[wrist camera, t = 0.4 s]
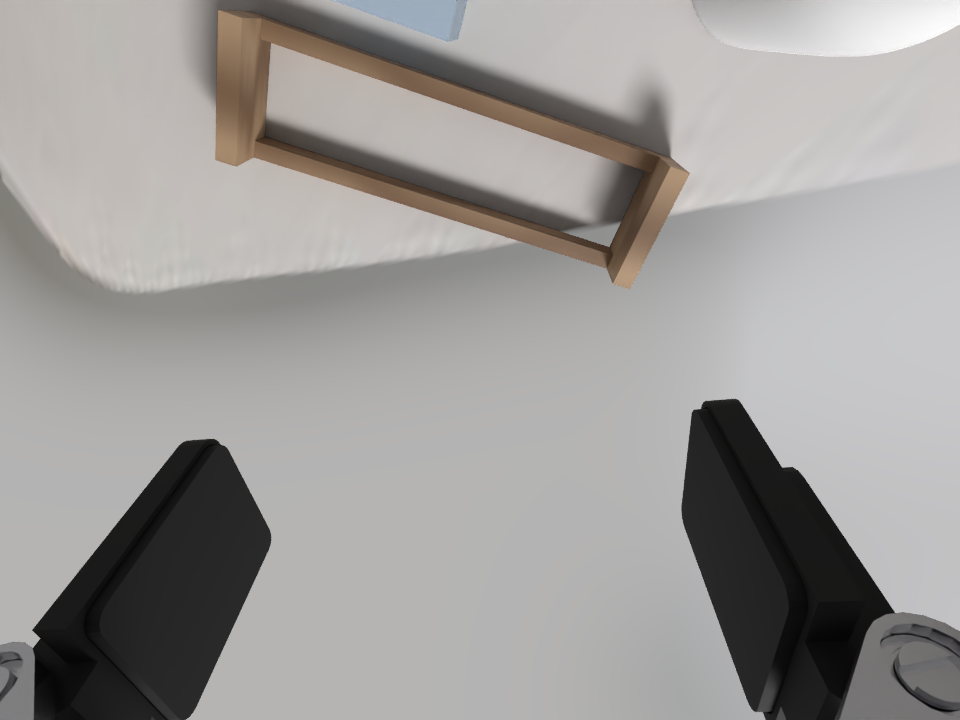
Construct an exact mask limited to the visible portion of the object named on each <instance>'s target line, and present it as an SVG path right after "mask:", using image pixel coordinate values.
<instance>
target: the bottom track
mask: <svg viewBox="0 0 960 720" xmlns="http://www.w3.org/2000/svg"><path fill="white" fill-rule="evenodd" d="M271 43H273V44H276V45H279V46H282V47H285V48H288V49H291V50H294V51H297V52H300V53H302V54H305V55H308V56H311V57H314V58H317V59H320V60H323V61H326V62H329V63H332V64H335V65H337V66H340V67H343V68H346V69H349V70H352V71H355V72H358V73H361V74H364V75H367V76H369V77H372V78H375V79H378V80H381V81H384V82H387V83H390V84H393V85H396V86H399V87H402V88H404V89H407V90H410V91H413V92H416V93H419V94H422V95H425V96H428V97H431V98H434V99H436V100H439V101H442V102H445V103H448V104H451V105H454V106H457V107H460V108H463V109H466V110H469V111H471V112H474V113H477V114H480V115H483V116H486V117H489V118H492V119H495V120H498V121H501V122H503V123H506V124H509V125H512V126H515V127H518V128H521V129H524V130H527V131H530V132H533V133H536V134H538V135H541V136H544V137H547V138H550V139H553V140H556V141H559V142H562V143H565V144H568V145H570V146H573V147H576V148H579V149H582V150H585V151H588V152H591V153H594V154H597V155H600V156H603V157H605V158H608V159H611V160H614V161H617V162H620V163H623V164H626V165H629V166H632V167H635V168H638V169H640V170H643V171H645V172H644V175H643V177H642V179H641V181H640V183H639V185H638V187H637V189H636V192H635V194H634V196H633V198H632V200H631V202H630V204H629V207H628V209H627V211H626V213H625V215H624V217H623V219H622V222H621V224H620V226H619V228H618V230H617V232H616V234H615V237H614V239H613V241H612V243H611V245H610V247H607V246H604V245H600V244H597V243H594V242H591V241H588V240H585V239H582V238H579V237H576V236H573V235H569V234H566V233H563V232H560V231H557V230H554V229H551V228H548V227H544V226H541V225H538V224H535V223H532V222H529V221H526V220H523V219H519V218H516V217H513V216H510V215H507V214H504V213H501V212H498V211H495V210H491V209H488V208H485V207H482V206H479V205H476V204H473V203H470V202H466V201H463V200H460V199H457V198H454V197H451V196H448V195H445V194H442V193H438V192H435V191H432V190H429V189H426V188H423V187H420V186H417V185H413V184H410V183H407V182H404V181H401V180H398V179H395V178H392V177H388V176H385V175H382V174H379V173H376V172H373V171H370V170H367V169H364V168H360V167H357V166H354V165H351V164H348V163H345V162H342V161H339V160H335V159H332V158H329V157H326V156H323V155H320V154H317V153H314V152H311V151H307V150H304V149H301V148H298V147H295V146H292V145H289V144H286V143H282V142H279V141H276V140H273V139H270V138H267V137H264V136H265V121H266V106H267V91H268V76H269V61H270V46H271ZM252 158H258V159H261V160H264V161H267V162H270V163H273V164H277V165H280V166H283V167H286V168H289V169H292V170H296V171H299V172H302V173H305V174H308V175H311V176H315V177H318V178H321V179H324V180H327V181H331V182H334V183H337V184H340V185H343V186H346V187H350V188H353V189H356V190H359V191H362V192H365V193H369V194H372V195H375V196H378V197H381V198H385V199H388V200H391V201H394V202H397V203H400V204H404V205H407V206H410V207H413V208H416V209H419V210H423V211H426V212H429V213H432V214H435V215H438V216H442V217H445V218H448V219H451V220H454V221H458V222H461V223H464V224H467V225H470V226H473V227H477V228H480V229H483V230H486V231H489V232H492V233H496V234H499V235H502V236H505V237H508V238H511V239H515V240H518V241H521V242H524V243H527V244H531V245H534V246H537V247H540V248H543V249H547V250H550V251H553V252H556V253H559V254H562V255H565V256H569V257H572V258H575V259H578V260H581V261H585V262H588V263H591V264H594V265H598V266H601V267H604V268H607V270H608V273H609V275H610V278H611V280H612V283H613V284H615V285H618V286H621V287H625V288H628V289H630V288H631V286H632V284H633V282H634V281H635V279H636V277H637V275H638V273H639V271H640V269H641V267H642V265H643V263H644V261H645V259H646V257H647V255H648V253H649V251H650V249H651V248H652V246H653V244H654V242H655V240H656V238H657V236H658V234H659V232H660V230H661V228H662V226H663V224H664V222H665V220H666V219H667V217H668V215H669V213H670V211H671V209H672V207H673V205H674V203H675V201H676V199H677V197H678V195H679V193H680V191H681V189H682V188H683V186H684V184H685V182H686V180H687V178H688V176H689V174H690V173H689V172H688V171H686V170H685V169H684V168H683V167H681V166H680V165H679V164H678V163H677V162H675V161H674V160H673V159H672V158H669V157H667V156H664V155H661V154H658V153H655V152H652V151H649V150H646V149H644V148H641V147H638V146H635V145H632V144H629V143H626V142H624V141H621V140H618V139H615V138H612V137H609V136H606V135H603V134H601V133H598V132H595V131H592V130H589V129H586V128H583V127H581V126H578V125H575V124H572V123H569V122H566V121H563V120H560V119H558V118H555V117H552V116H549V115H546V114H543V113H540V112H538V111H535V110H532V109H529V108H526V107H523V106H520V105H517V104H515V103H512V102H509V101H506V100H503V99H500V98H497V97H495V96H492V95H489V94H486V93H483V92H480V91H477V90H474V89H472V88H469V87H466V86H463V85H460V84H457V83H454V82H452V81H449V80H446V79H443V78H440V77H437V76H434V75H431V74H429V73H426V72H423V71H420V70H417V69H414V68H411V67H409V66H406V65H403V64H400V63H397V62H394V61H391V60H388V59H386V58H383V57H380V56H377V55H374V54H371V53H368V52H366V51H363V50H360V49H357V48H354V47H351V46H348V45H346V44H343V43H340V42H337V41H334V40H331V39H328V38H325V37H323V36H320V35H317V34H314V33H311V32H308V31H305V30H303V29H300V28H297V27H294V26H291V25H288V24H285V23H282V22H280V21H277V20H274V19H271V18H268V17H265V16H262V15H260V14H257V13H254V12H249V11H231V10H218V41H217V99H216V156H215V160H217V161H220V162H223V163H227V164H230V165H233V166H238V165H240V164H242V163H244V162H246V161H248V160H250V159H252Z"/></svg>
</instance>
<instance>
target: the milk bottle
mask: <svg viewBox="0 0 960 720" xmlns="http://www.w3.org/2000/svg"><path fill="white" fill-rule="evenodd" d="M692 1H693V5H694V8H695V11H696V14H697V16H698V18H699V20H700V22H701V23H702V25H703V26H704V28H705V29H706V30H707V31H708V32H709V33H710V34H711V35H712V36H713V37H714V38H716V39H717V40H718V41H720V42H722V43H724V44H727V45H729V46H733V47H738V48H742V49H751V50H760V51H770V52H780V53H791V54H804V55H817V56H868V55H875V54H882V53H887V52H892V51H897V50H900V49H903V48H906V47H910V46H913V45H916V44H919V43H922V42H924V41H927V40H929V39H931V38H934V37H936V36H938V35H940V34H942V33H944V32H946V31H948V30H950V29H952V28H954V27H956V26H957V25H959V24H960V0H692Z"/></svg>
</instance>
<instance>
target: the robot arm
mask: <svg viewBox="0 0 960 720" xmlns="http://www.w3.org/2000/svg"><path fill="white" fill-rule="evenodd" d="M682 519H683V524H684V527H685V530H686V533H687V535H688V538H689V541H690V544H691V546H692V549H693V552H694V555H695V557H696V560H697V563H698V566H699V568H700V571H701V574H702V577H703V579H704V582H705V585H706V588H707V591H708V593H709V596H710V599H711V602H712V604H713V607H714V610H715V613H716V615H717V618H718V620H719V624H720V626H721V629H722V632H723V635H724V637H725V640H726V643H727V646H728V648H729V651H730V654H731V657H732V660H733V662H734V665H735V668H736V671H737V673H738V676H739V679H740V682H741V684H742V687H743V690H744V693H745V695H746V698H747V700H748V703H749V705H750V707H751V709H752V710H753V711H755V712H763V713H764V716H765V719H766V720H960V631H958V630H956V629H954V628H952V627H951V626H949V625H947V624H946V623H943V622H940V621H937V620H935V619H932V618H929V617H926V616H924V615H917V614H911V613H904V612H902V613H895V612H894V611H893V609H892V608H891V606H890V605H889V603H888V602H887V600H886V599H885V597H884V596H883V594H882V593H881V591H880V590H879V588H878V587H877V585H876V584H875V582H874V581H873V579H872V578H871V576H870V575H869V573H868V572H867V570H866V569H865V567H864V566H863V564H862V563H861V562H860V560H859V559H858V557H857V556H856V554H855V553H854V551H853V550H852V548H851V547H850V546H849V544H848V542H847V541H846V539H845V538H844V536H843V535H842V533H841V532H840V530H839V529H838V527H837V526H836V524H835V523H834V521H833V520H832V518H831V517H830V515H829V514H828V513H827V511H826V509H825V508H824V506H823V505H822V504H821V502H820V501H819V499H818V498H817V496H816V495H815V493H814V492H813V490H812V489H811V487H810V486H809V484H808V483H807V482H806V480H805V478H804V477H803V476H802V475H801V473H800V472H799V471H798V470H796V469H794V468H793V467H787V468H782V467H781V466H780V464H779V462H778V461H777V459H776V458H775V456H774V454H773V453H772V451H771V450H770V448H769V446H768V445H767V443H766V442H765V440H764V439H763V437H762V435H761V434H760V432H759V431H758V429H757V428H756V426H755V424H754V423H753V421H752V420H751V418H750V417H749V415H748V413H747V412H746V410H745V409H744V407H743V406H742V404H741V403H740V402H739V400H737V399H727V400H714V401H705V402H703V404H702V407H701V409H698V410H693V412H692V417H691V426H690V435H689V444H688V453H687V462H686V471H685V480H684V490H683V499H682ZM270 544H271V533H270V530H269V528H268V526H267V524H266V522H265V520H264V518H263V516H262V514H261V512H260V510H259V508H258V506H257V505H256V502H255V501H254V499H253V497H252V495H251V493H250V491H249V489H248V487H247V485H246V483H245V481H244V479H243V478H242V475H241V474H240V472H239V470H238V468H237V466H236V464H235V462H234V460H233V458H232V456H231V454H230V452H229V450H228V449H227V448H226V447H225V446H222V445H221V444H220V443H219V442H218V441H217V440H215V439H206V440H192V441H186V442H183V443H182V444H181V445H179V447H178V448H177V449H176V450H175V451H174V453H173V454H172V455H171V456H170V458H169V459H168V460H167V462H166V463H165V464H164V465H163V467H162V468H161V469H160V470H159V472H158V473H157V474H156V475H155V477H154V478H153V479H152V480H151V482H150V483H149V484H148V486H147V487H146V488H145V489H144V490H143V492H142V493H141V494H140V496H139V497H138V498H137V499H136V500H135V502H134V503H133V504H132V506H131V507H130V508H129V509H128V511H127V512H126V513H125V514H124V516H123V517H122V518H121V519H120V521H119V522H118V523H117V524H116V526H115V527H114V528H113V529H112V531H111V532H110V533H109V535H108V536H107V537H106V538H105V540H104V541H103V542H102V543H101V544H100V546H99V547H98V548H97V549H96V551H95V552H94V553H93V555H92V556H91V557H90V558H89V560H88V561H87V562H86V563H85V565H84V566H83V567H82V568H81V570H80V571H79V572H78V573H77V575H76V576H75V577H74V579H73V580H72V581H71V582H70V583H69V585H68V586H67V587H66V589H65V590H64V591H63V592H62V594H61V595H60V596H59V597H58V599H57V600H56V601H55V602H54V604H53V605H52V606H51V607H50V609H49V610H48V611H47V612H46V614H45V615H44V616H43V617H42V619H41V620H40V621H39V622H38V624H37V625H36V626H35V627H34V629H33V630H32V631H34V632H35V633H36V634H37V635H38V636H39V637H40V638H41V639H40V640H39V641H38V642H37V644H36V645H35V646H34V648H32V647H30V646H29V645H28V644H26V643H22V642H11V643H7V644H3V645H0V720H186V719H187V718H189V717H190V716H191V714H192V713H193V711H194V710H195V708H196V706H197V704H198V702H199V700H200V698H201V695H202V693H203V691H204V689H205V687H206V684H207V682H208V680H209V678H210V676H211V673H212V672H213V669H214V667H215V665H216V663H217V661H218V658H219V656H220V654H221V652H222V650H223V647H224V645H225V643H226V641H227V639H228V637H229V635H230V632H231V630H232V628H233V626H234V624H235V622H236V619H237V617H238V615H239V613H240V611H241V609H242V606H243V604H244V602H245V600H246V598H247V596H248V593H249V591H250V589H251V587H252V585H253V582H254V580H255V578H256V576H257V574H258V572H259V570H260V567H261V565H262V563H263V561H264V559H265V556H266V554H267V552H268V550H269V547H270Z"/></svg>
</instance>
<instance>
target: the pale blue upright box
mask: <svg viewBox="0 0 960 720" xmlns="http://www.w3.org/2000/svg"><path fill="white" fill-rule="evenodd" d="M333 1H336V2H338V3H341V4H344V5H347V6H349V7H352V8H355V9H358V10H361V11H363V12H366V13H369V14H372V15H375V16H377V17H380V18H383V19H386V20H389V21H391V22H394V23H397V24H400V25H402V26H405V27H408V28H411V29H414V30H416V31H419V32H422V33H425V34H428V35H430V36H433V37H436V38H439V39H442V40H444V41H447V42H448V41H452V40H456V39H458V37H459V33H460V29H461V25H462V21H463V16H464V12H465V8H466V4H467V0H333Z"/></svg>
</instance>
